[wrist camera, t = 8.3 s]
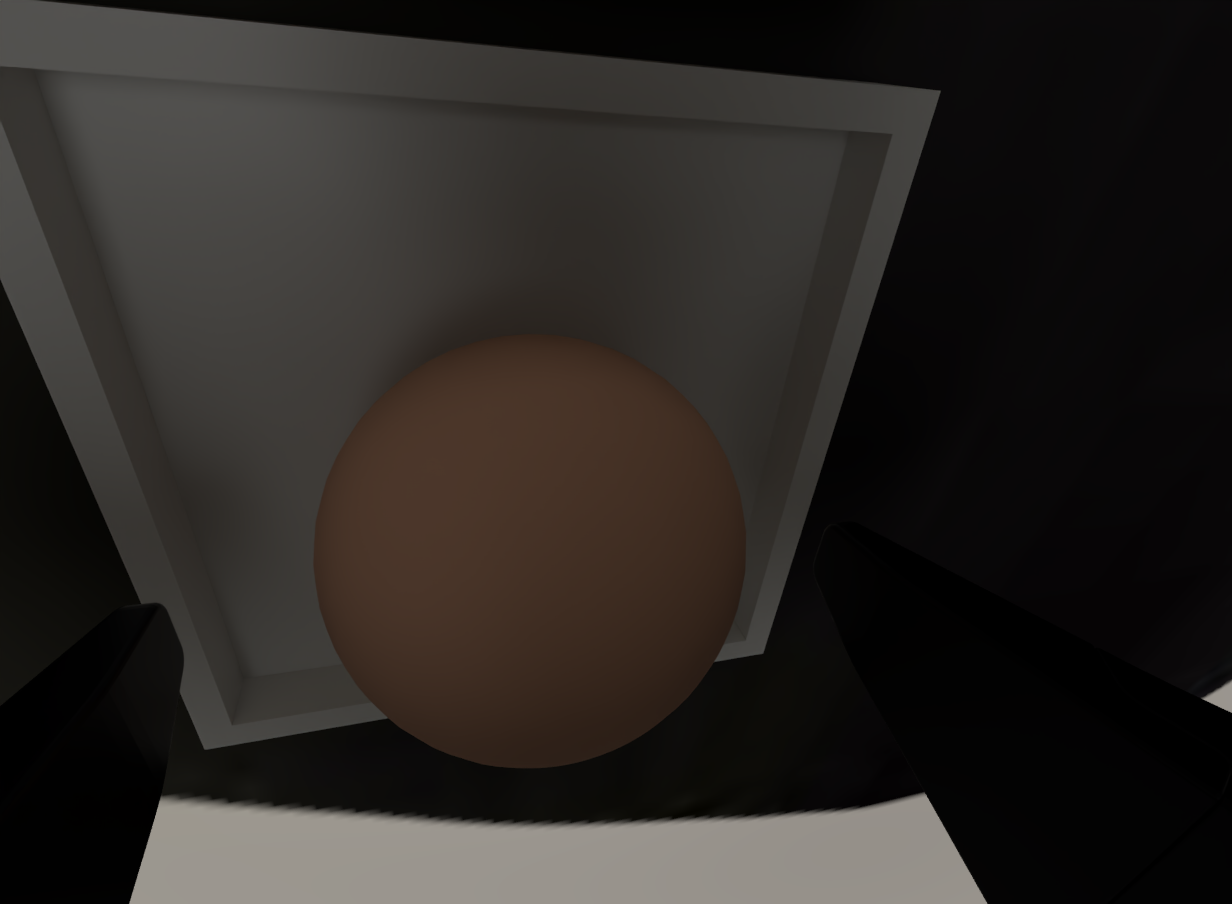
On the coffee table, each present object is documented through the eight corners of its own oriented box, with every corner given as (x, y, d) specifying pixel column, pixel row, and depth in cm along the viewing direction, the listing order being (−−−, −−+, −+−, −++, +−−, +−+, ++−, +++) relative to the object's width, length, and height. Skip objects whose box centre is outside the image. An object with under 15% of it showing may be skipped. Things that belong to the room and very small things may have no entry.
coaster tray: (879, 82, 10) (940, 91, 9) (737, 609, 17) (762, 653, 16) (-39, -10, 7) (-130, -16, 6) (222, 686, 14) (204, 749, 13)
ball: (683, 275, 11) (905, 469, 6) (644, 540, 14) (771, 803, 9) (303, 274, 9) (206, 541, 5) (356, 576, 13) (332, 918, 8)
